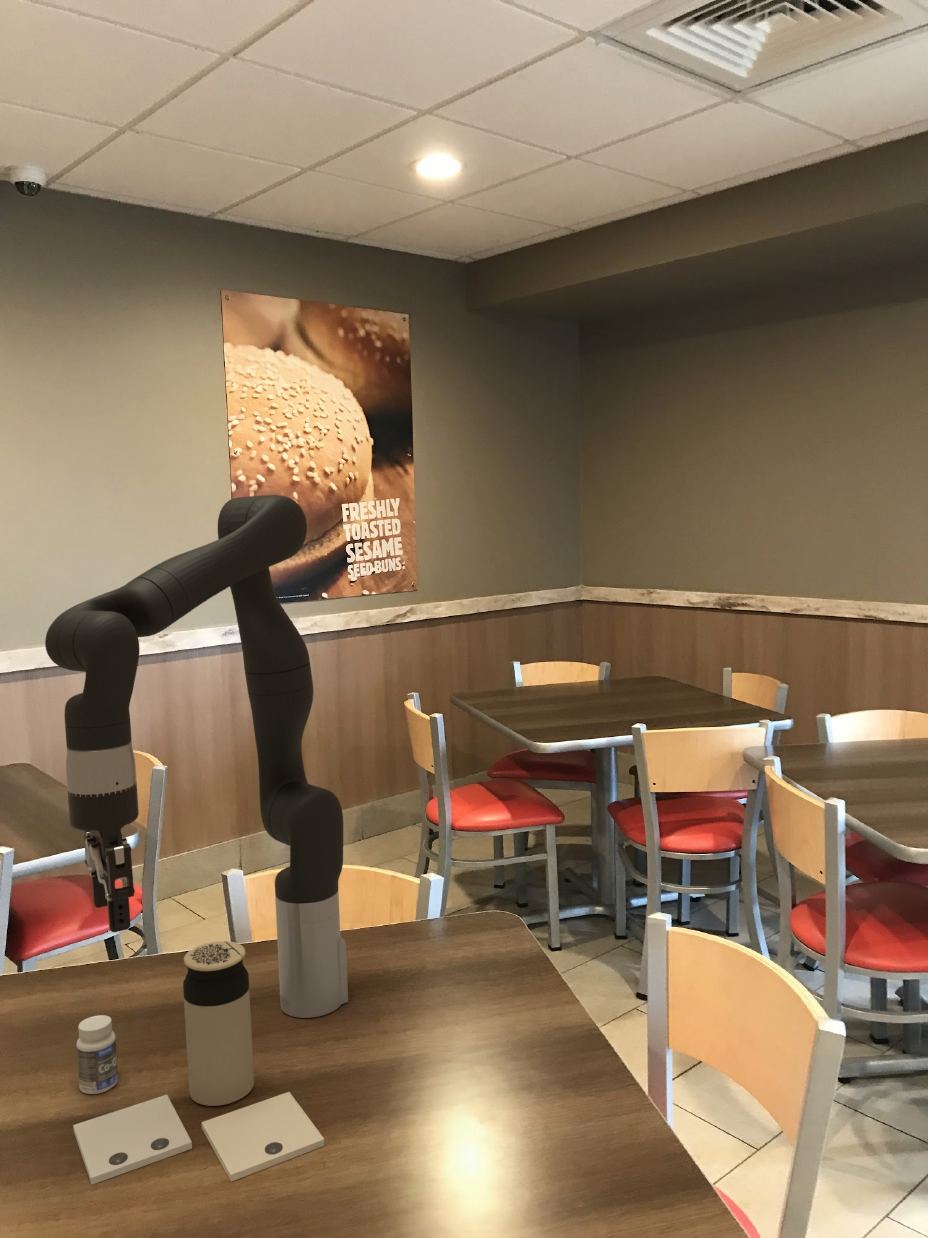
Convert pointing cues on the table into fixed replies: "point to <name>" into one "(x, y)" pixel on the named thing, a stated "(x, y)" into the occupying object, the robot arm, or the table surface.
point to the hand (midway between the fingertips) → (111, 917)
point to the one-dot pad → (261, 1135)
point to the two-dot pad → (130, 1138)
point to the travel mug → (218, 1023)
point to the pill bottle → (96, 1055)
